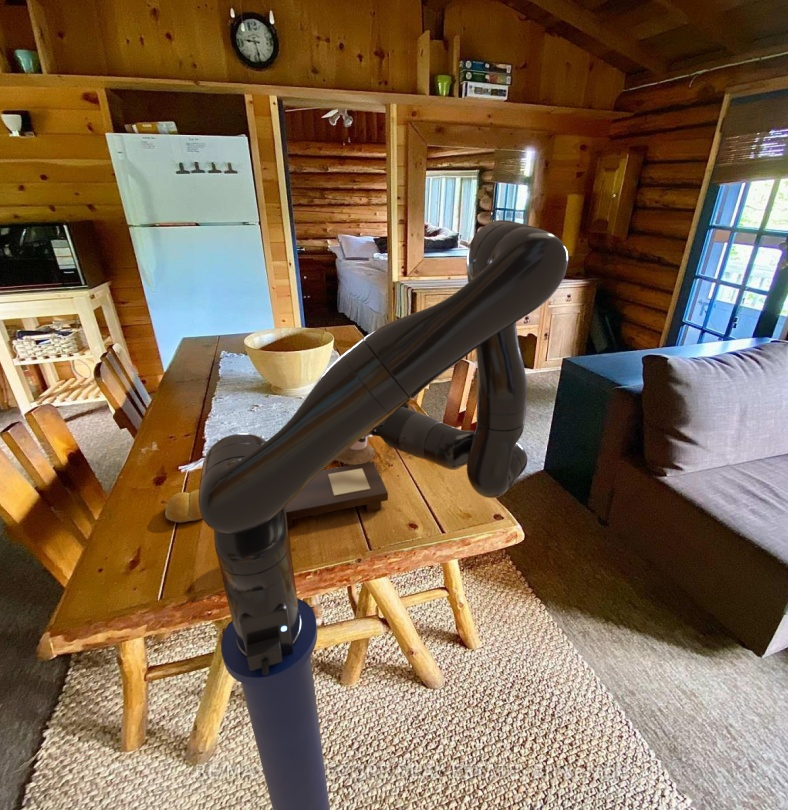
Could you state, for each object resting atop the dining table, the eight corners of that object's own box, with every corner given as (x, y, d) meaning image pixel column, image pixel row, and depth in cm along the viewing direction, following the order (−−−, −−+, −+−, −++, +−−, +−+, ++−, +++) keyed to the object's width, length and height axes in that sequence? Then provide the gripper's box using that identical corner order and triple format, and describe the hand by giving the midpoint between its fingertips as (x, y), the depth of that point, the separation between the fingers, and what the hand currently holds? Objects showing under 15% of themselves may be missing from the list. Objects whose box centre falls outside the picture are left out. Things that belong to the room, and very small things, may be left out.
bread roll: (214, 519, 89) (211, 503, 87) (165, 528, 86) (160, 512, 84) (216, 494, 95) (213, 479, 94) (171, 501, 93) (166, 486, 91)
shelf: (388, 507, 93) (388, 492, 91) (269, 531, 86) (266, 515, 84) (373, 475, 103) (373, 460, 101) (266, 494, 96) (264, 478, 94)
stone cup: (385, 451, 112) (385, 399, 105) (356, 474, 103) (354, 418, 96) (339, 434, 119) (336, 384, 112) (308, 455, 110) (303, 401, 103)
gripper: (438, 400, 82) (371, 378, 91) (388, 430, 71) (318, 402, 80) (436, 435, 85) (372, 410, 94) (388, 469, 75) (321, 437, 84)
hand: (347, 406), depth 87 cm, fingers closed on smoothie, 6 cm apart
